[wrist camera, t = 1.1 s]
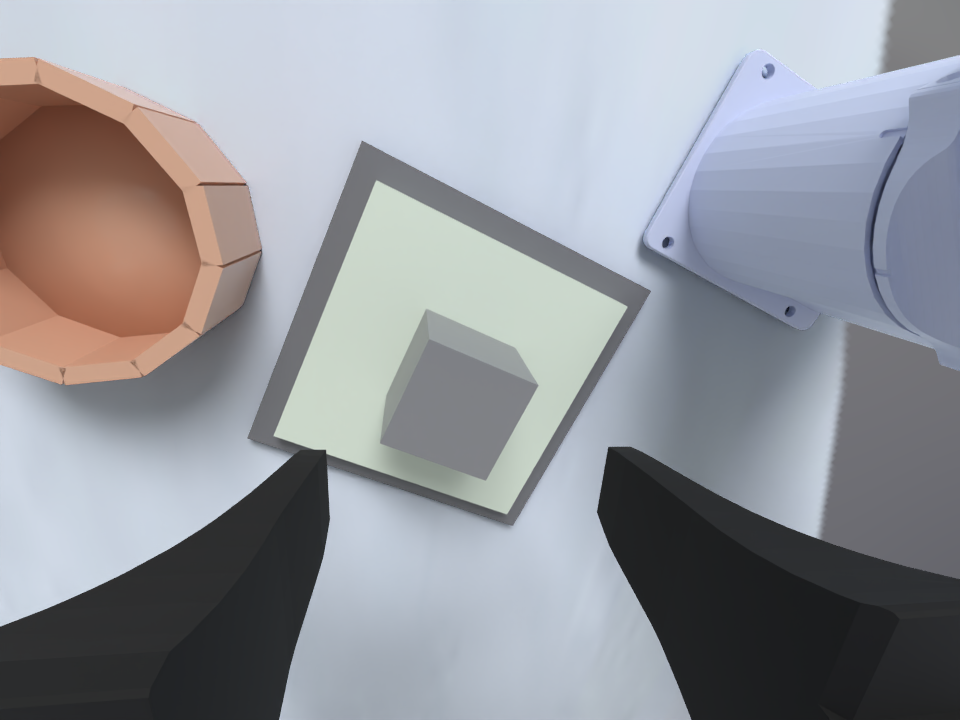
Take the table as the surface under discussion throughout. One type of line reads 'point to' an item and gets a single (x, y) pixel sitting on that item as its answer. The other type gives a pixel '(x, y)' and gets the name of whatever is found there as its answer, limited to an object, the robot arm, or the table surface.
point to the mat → (477, 216)
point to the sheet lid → (444, 355)
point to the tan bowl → (111, 228)
